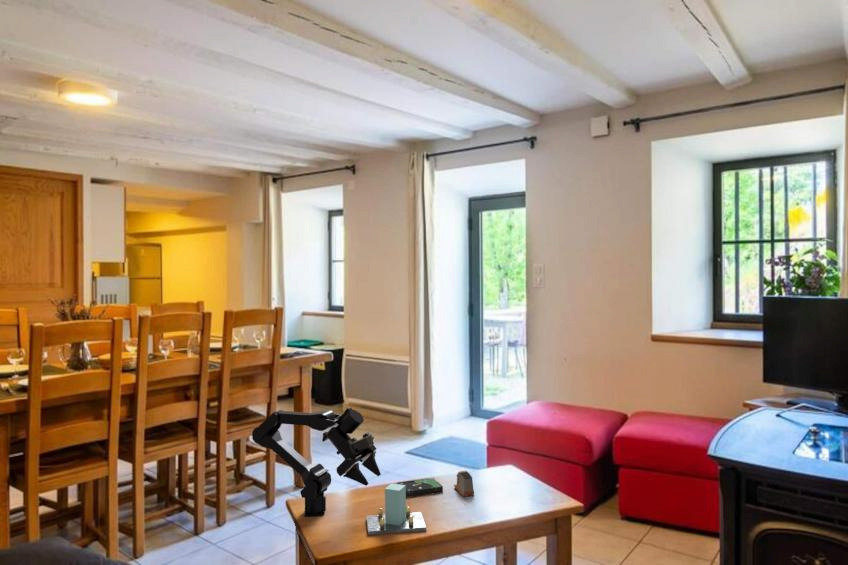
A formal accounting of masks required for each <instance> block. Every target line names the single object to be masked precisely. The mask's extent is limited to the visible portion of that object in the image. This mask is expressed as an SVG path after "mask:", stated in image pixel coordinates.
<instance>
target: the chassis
mask: <svg viewBox="0 0 848 565" xmlns="http://www.w3.org/2000/svg"><path fill="white" fill-rule="evenodd" d="M377 510H378V513H377V514H372V515H370V514H369V515H366V517H365V518H366V527H367V535H368V536H378V535H390V534H391V535H393V534H394V535H395V534H405V533H408V534H409V533H421V532H427V526H426V523H425V520H424V517H423V513H422V512H421V511H417V512H416V511H415V512H411V506H410V505H406V520H405V521H404V522H403V523H402V524H401V525H400V526H399V525H392V524H386V523H385V513H383V512H384V509H383V507H378V509H377Z"/></svg>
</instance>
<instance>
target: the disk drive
mask: <svg viewBox="0 0 848 565" xmlns="http://www.w3.org/2000/svg"><path fill="white" fill-rule="evenodd" d="M396 484H400V485H406V498H412V497H419V495H420V496H425V494H427V495H433V494H432V493H434V494H441V493H440V492H442V493H444V487H443V485H442V484H441V483H440V482H439V481H437V480H436V479H435V478H434V477H433V478H432V477H431V478H423V479H422V478H421V479H414V480H407V481H406V480H405V481H399V482H397V483H396Z"/></svg>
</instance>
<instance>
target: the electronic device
mask: <svg viewBox="0 0 848 565" xmlns="http://www.w3.org/2000/svg"><path fill="white" fill-rule="evenodd" d="M453 487H454V489H455V490H457V491H458V493H459V494H460V495H461V496H463V498H465V497H471V496H475V490H474V482H473V477H472V474H470V473H469V472H468V471H467V470H460V471H458V473H457V474H456V484H453Z"/></svg>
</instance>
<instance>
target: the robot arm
mask: <svg viewBox="0 0 848 565" xmlns="http://www.w3.org/2000/svg"><path fill="white" fill-rule="evenodd" d="M363 423H364V417H363V415H362V413H361V412H358V410H356V409H353V408H352V407H351V406H349V407H347V408H346V409H345V410H344V412H343V413H342V414H338V413H335V412H334V411H333V410H332V409H331V410H330V409H326V410H320V411H315V412H303V411H290V410H289V411H288V410H287V411H286V410H283V409H280V410H278V411H273V412H272V413H271V414H270V415H269V416H268V418H266V419H265V420H264V421H263V422H261V423H260V424H259V425H258V426H257V427H254V428H253V430H252V432H251V434H252V435H251V439H252V440H253V442H254V443H256V444H257V445H259V446H260V447H261V448H265V449H268V450H269V449H270V450H271V451H272V452H274V453H275V454H276V455H277V456H278V457H279V458H280V459H282V461H284V463H286V464H287V465H288V466H290V468H292V470H294V471H295V472H296V473H297V474H298V475H299V476H300V477H301V480H302V482H303V485H304V487H303V488H302V489H301V490H300V491H299V493H300V496H301V498H303V499H304V513H303V516H304V517H314V516H316V517H317V516H324V515H325V512H326V510H327V498H326V496H325V492H327V491H328V487H329V486H330V485H331V484H332V475H331V474H330V473H329V469H327V468H325V466H323V464H321V463H319V462H318V463H317V464H316V465H314V464H311V463H310V462H309V461H308V460H307V459H306V458H304V457H303V456H302V455H301V454H300V453H299V452H298V451H297V450H295V449H294V448H293V447H292V446H291V445H289V444H288V442H287V441H285V440H284V439H283V437H282V435H281V432H280V428H281V427H282V425H292V426H293V425H296V426H306V427H309V428H310V429H312V430H316V431H320V432H323V433H322V439H321V441H322V442H325V441H328V440H329V442H330V443H331V444H332V445H333V447H334V448H336V450H337V451H336V454H337V455H341V457H342V458H343V459H344V460H342V462H340V464H339V465H338V466H337V467H336V474H337V475H338V476H339V477H343V478H347V479H350V480H352V481H355V482H356V483H360V484H362V485H364V486H367V485H369V481H368V480H367V478H366V476H365V475H364V474H363V472H362V471H361V470H360V463H361V466H363V467H364V468H366V469H367V470H368V471H370V472H371V473H372V474H374V475H376V477H380V476H381V475H382V473H381V471H380V468H379V465H378V464H377V461H376V453H377V447H376V446H375V445H374V444H375V443H374V439H375V437H374V436H373V435H372V434H371V433H370V432H366V433H364V434H362V438H359V439H358V440H357V438H356V437H351V436H350V435H351V434H354V433H355V431H356V430H357V429H359V427H360V426H361V425H362V424H363ZM335 425H336V426H335ZM327 429H329V430H328V431H325V430H327Z"/></svg>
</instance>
